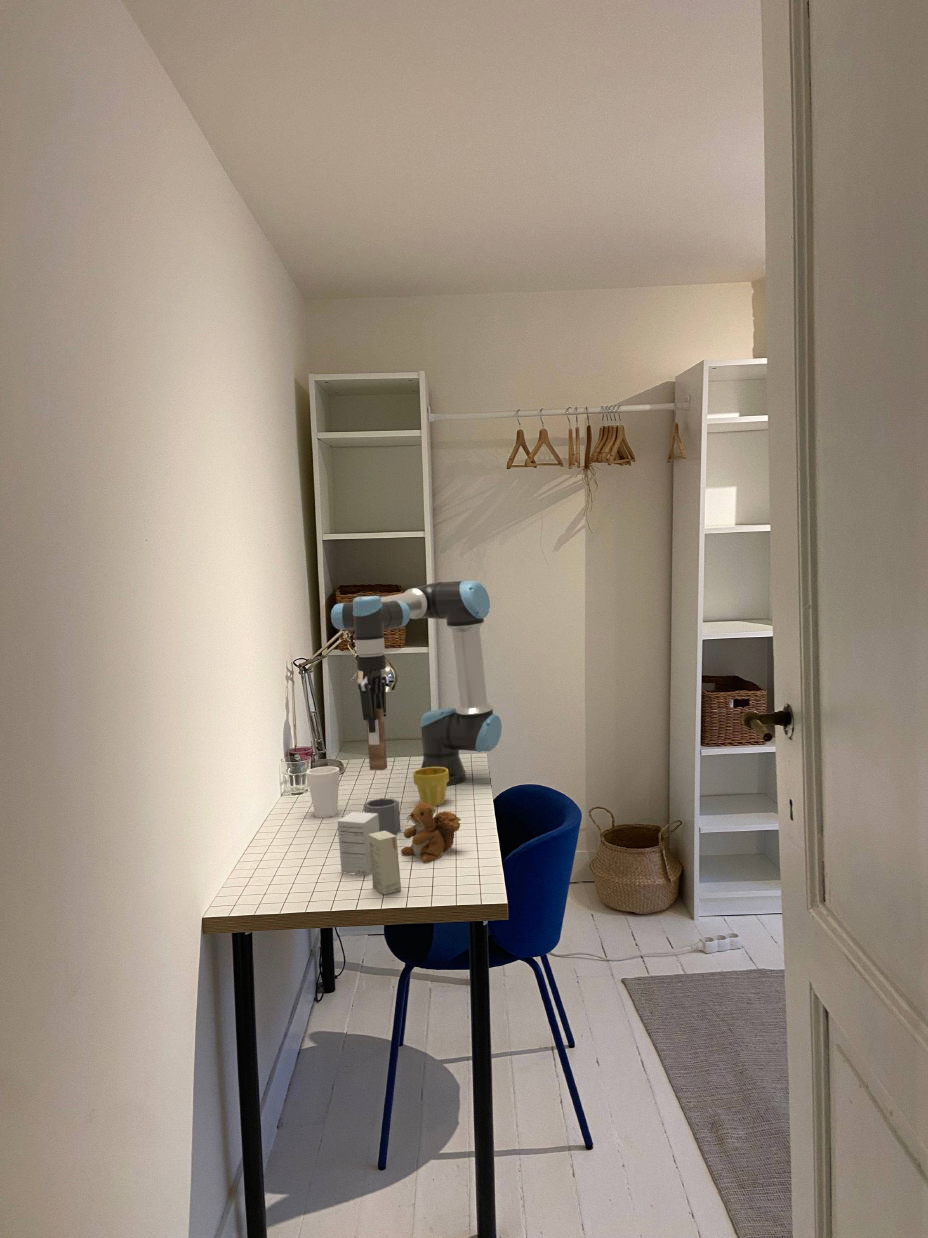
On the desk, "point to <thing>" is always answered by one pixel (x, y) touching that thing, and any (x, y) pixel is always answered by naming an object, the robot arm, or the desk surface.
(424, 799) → the plant pot
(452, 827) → the stuffed squirrel
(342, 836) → the supplement box
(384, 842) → the skincare box
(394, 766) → the desk surface
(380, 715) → the tan wooden beam
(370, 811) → the jar
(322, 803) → the foam cup
